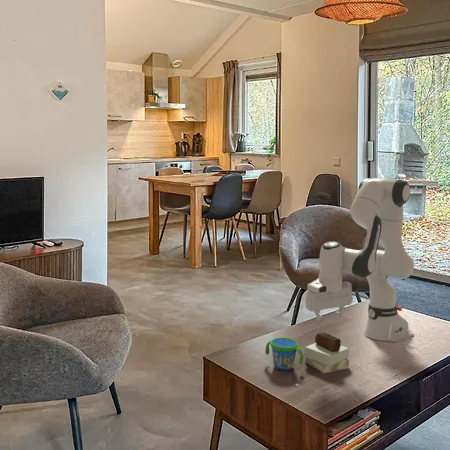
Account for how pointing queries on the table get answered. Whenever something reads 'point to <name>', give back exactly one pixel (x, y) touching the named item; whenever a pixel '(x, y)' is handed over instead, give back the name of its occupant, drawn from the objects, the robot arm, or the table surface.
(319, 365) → the lower slab
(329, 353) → the upper slab
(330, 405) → the table surface
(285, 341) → the snack cup
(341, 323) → the table surface
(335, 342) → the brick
